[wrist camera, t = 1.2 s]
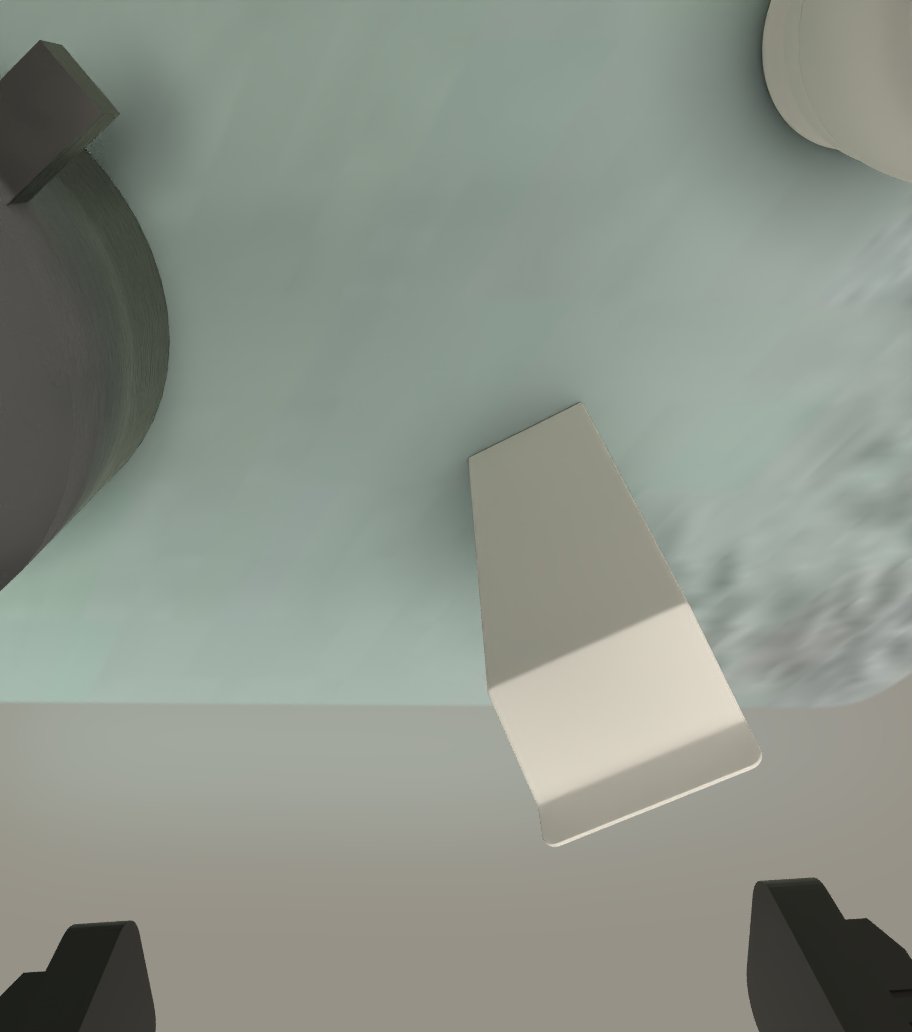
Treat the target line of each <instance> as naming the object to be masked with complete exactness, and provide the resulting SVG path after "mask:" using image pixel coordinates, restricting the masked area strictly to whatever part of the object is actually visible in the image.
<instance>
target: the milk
mask: <svg viewBox="0 0 912 1032" xmlns="http://www.w3.org/2000/svg"><path fill="white" fill-rule="evenodd" d="M468 462H469V474H470V486H471V498H472V510H473V522H474V534H475V546H476V558H477V570H478V582H479V594H480V606H481V618H482V630H483V642H484V653H485V665H486V677H487V689H488V694H489V697H490V699H491V701H492V704H493V706H494V708H495V710H496V713H497V715H498V717H499V719H500V722H501V724H502V726H503V728H504V731H505V733H506V735H507V738H508V740H509V742H510V744H511V747H512V749H513V751H514V753H515V756H516V758H517V760H518V762H519V764H520V767H521V769H522V771H523V774H524V776H525V778H526V781H527V783H528V785H529V787H530V789H531V792H532V794H533V796H534V799H535V801H536V803H537V806H538V810H539V817H540V824H541V830H542V836H543V840H544V841H545V843H546V844H547V845H549V846H551V847H558V846H560V845H563V844H566V843H568V842H571V841H573V840H576V839H578V838H581V837H583V836H586V835H588V834H590V833H593V832H596V831H598V830H601V829H603V828H606V827H608V826H611V825H613V824H616V823H618V822H621V821H623V820H626V819H628V818H631V817H633V816H636V815H638V814H641V813H643V812H646V811H648V810H651V809H653V808H656V807H658V806H661V805H663V804H666V803H668V802H671V801H673V800H676V799H678V798H681V797H683V796H686V795H688V794H691V793H693V792H696V791H698V790H701V789H703V788H706V787H708V786H711V785H713V784H716V783H718V782H721V781H723V780H726V779H728V778H730V777H733V776H736V775H738V774H741V773H743V772H746V771H748V770H751V769H753V768H755V767H756V766H757V765H758V764H759V763H760V762H761V759H762V752H761V750H760V748H759V745H758V743H757V741H756V739H755V737H754V735H753V734H752V732H751V730H750V728H749V726H748V724H747V722H746V720H745V718H744V716H743V714H742V712H741V710H740V708H739V706H738V704H737V702H736V700H735V697H734V695H733V693H732V691H731V689H730V687H729V685H728V683H727V681H726V679H725V677H724V675H723V673H722V671H721V669H720V667H719V665H718V663H717V661H716V659H715V656H714V654H713V652H712V650H711V648H710V646H709V644H708V642H707V640H706V638H705V636H704V634H703V632H702V630H701V628H700V626H699V624H698V622H697V620H696V618H695V615H694V613H693V611H692V609H691V607H690V605H689V604H688V602H687V600H686V598H685V596H684V594H683V592H682V590H681V588H680V586H679V585H678V583H677V581H676V579H675V577H674V575H673V573H672V571H671V569H670V568H669V566H668V564H667V562H666V560H665V558H664V556H663V554H662V552H661V551H660V549H659V547H658V545H657V543H656V541H655V539H654V537H653V535H652V534H651V532H650V530H649V528H648V526H647V524H646V522H645V520H644V518H643V516H642V515H641V513H640V511H639V509H638V507H637V505H636V503H635V501H634V499H633V498H632V496H631V494H630V492H629V490H628V488H627V486H626V484H625V482H624V481H623V479H622V477H621V475H620V473H619V471H618V469H617V467H616V465H615V463H614V462H613V460H612V458H611V456H610V454H609V452H608V450H607V448H606V446H605V445H604V443H603V441H602V439H601V437H600V435H599V433H598V431H597V429H596V428H595V426H594V424H593V422H592V420H591V418H590V416H589V414H588V412H587V411H586V409H585V407H584V405H583V404H582V403H578V404H576V405H574V406H572V407H570V408H568V409H566V410H564V411H562V412H560V413H558V414H556V415H554V416H552V417H550V418H548V419H546V420H544V421H542V422H540V423H538V424H536V425H534V426H532V427H530V428H528V429H526V430H524V431H522V432H520V433H518V434H516V435H514V436H512V437H510V438H508V439H506V440H504V441H502V442H500V443H497V444H495V445H493V446H491V447H489V448H487V449H485V450H483V451H481V452H479V453H477V454H475V455H473V456H471V457H470V458H469V459H468Z"/></svg>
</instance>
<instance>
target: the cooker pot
mask: <svg viewBox="0 0 912 1032" xmlns="http://www.w3.org/2000/svg"><path fill="white" fill-rule="evenodd" d="M119 114H120V113H119V112H118V111H117V110H116V108H115V107H114V106H113V105H112V104H111V102H110V101H109V100H108V99H107V98H106V97H105V95H104V94H103V93H102V92H101V91H100V89H99V88H98V87H97V86H96V85H95V84H94V82H93V81H92V80H91V79H90V78H89V76H88V75H87V74H86V73H85V72H84V71H83V69H82V68H81V67H80V66H79V65H78V63H77V62H76V61H75V60H74V59H73V58H72V56H71V55H70V54H69V53H68V52H67V50H66V49H65V48H64V47H63V46H62V45H59V44H55V43H51V42H46V41H42V40H39V41H38V42H37V43H36V44H35V45H34V46H33V47H32V49H31V50H30V51H29V52H28V53H27V54H26V55H25V56H24V57H23V58H22V59H21V60H20V61H19V62H18V63H17V64H16V65H15V66H14V67H13V68H12V69H11V70H10V71H9V72H8V73H7V74H6V75H5V76H4V77H3V78H2V79H1V80H0V591H1V590H2V589H3V588H4V587H5V586H6V585H7V584H8V583H9V582H10V581H11V580H12V579H13V578H14V577H15V576H16V575H18V574H19V573H20V572H21V571H22V570H23V569H24V568H25V567H26V566H27V565H28V564H29V562H30V561H31V560H32V559H33V558H34V557H35V556H36V555H37V554H38V553H39V552H40V551H41V550H42V549H43V548H44V547H45V546H46V545H47V544H48V543H49V542H50V541H51V540H52V539H53V538H54V537H55V536H56V535H57V533H58V532H59V531H60V530H61V529H62V528H63V527H64V526H65V525H66V524H67V523H68V522H69V521H70V520H71V519H72V518H73V517H74V516H75V515H76V514H77V513H78V512H79V511H80V510H81V509H82V508H83V507H84V506H85V504H86V503H87V502H88V501H89V500H90V499H91V498H92V497H93V496H94V495H95V494H96V493H97V492H98V491H99V490H100V489H101V488H102V487H103V486H104V485H105V484H106V483H107V482H108V481H109V480H110V479H111V478H112V477H113V475H114V474H115V473H116V472H117V471H118V470H119V469H120V468H121V467H122V466H123V465H124V464H125V463H126V462H127V461H128V459H129V458H130V457H131V455H132V454H133V453H134V451H135V450H136V449H137V447H138V446H139V445H140V444H141V442H142V440H143V438H144V436H145V435H146V433H147V431H148V429H149V427H150V425H151V424H152V422H153V420H154V417H155V414H156V411H157V409H158V406H159V403H160V400H161V398H162V394H163V389H164V385H165V380H166V375H167V370H168V356H169V327H168V313H167V307H166V302H165V297H164V292H163V287H162V282H161V279H160V276H159V273H158V269H157V266H156V263H155V260H154V257H153V254H152V251H151V249H150V247H149V245H148V243H147V240H146V238H145V236H144V234H143V232H142V230H141V228H140V225H139V223H138V221H137V219H136V218H135V216H134V214H133V213H132V211H131V209H130V208H129V206H128V205H127V203H126V201H125V200H124V198H123V196H122V195H121V193H120V192H119V190H118V189H117V187H116V186H115V185H114V184H113V182H112V181H111V180H110V178H109V177H108V176H107V175H106V173H105V172H104V171H103V169H102V168H101V167H100V166H99V164H98V163H97V162H96V161H95V160H94V159H93V158H92V157H91V156H90V155H89V154H88V153H87V152H86V151H85V150H84V148H85V147H86V146H87V145H88V144H89V143H90V142H91V141H92V140H93V139H94V138H95V137H96V136H97V135H98V134H99V133H100V132H101V131H103V130H104V129H105V128H106V127H107V126H108V125H109V124H110V123H111V122H112V121H113V120H114V119H115V118H116V117H117V116H118V115H119Z"/></svg>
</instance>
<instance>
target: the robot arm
mask: <svg viewBox="0 0 912 1032" xmlns="http://www.w3.org/2000/svg"><path fill="white" fill-rule="evenodd" d="M752 900H753V901H752V913H751V924H750V936H749V950H748V961H747V986H748V994H749V999H750V1004H751V1008H752V1012H753V1015H754V1018H755V1021H756V1025H757V1027H758V1030H759V1032H912V959H911V958H910V957H909V955H908V953H907V952H906V950H905V949H904V948H902V947H901V946H900V945H899V944H898V943H896V942H895V941H894V940H893V939H892V938H890V937H889V936H888V935H887V934H885V933H884V932H883V931H882V930H881V929H879V928H878V927H877V926H876V925H875V924H873V923H872V922H871V921H870V920H868V919H867V918H863V919H848V920H845V919H844V917H843V915H842V914H841V912H840V910H839V909H838V907H837V906H836V904H835V902H834V901H833V899H832V898H831V896H830V894H829V893H828V891H827V890H826V888H825V886H824V885H823V884H822V883H821V882H820V880H818V879H817V878H798V879H783V880H768V881H758V882H757V883H756V885H755V886H754V890H753V899H752ZM155 1030H156V1018H155V1009H154V1003H153V999H152V994H151V989H150V983H149V979H148V974H147V969H146V964H145V959H144V954H143V949H142V944H141V939H140V934H139V930H138V927H137V925H136V923H135V922H134V921H117V922H104V923H103V922H102V923H87V924H74V925H72V926H70V927H69V928H68V929H67V931H66V932H65V934H64V936H63V937H62V939H61V941H60V943H59V945H58V947H57V949H56V951H55V953H54V955H53V957H52V959H51V961H50V963H49V965H48V967H47V969H46V971H44V972H29V973H23V974H22V975H21V976H20V977H19V978H18V979H17V980H16V981H15V982H14V983H13V984H12V985H11V986H10V987H9V988H8V989H7V990H6V991H5V992H4V993H3V994H2V995H1V996H0V1032H155Z"/></svg>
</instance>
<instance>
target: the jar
mask: <svg viewBox="0 0 912 1032" xmlns="http://www.w3.org/2000/svg"><path fill="white" fill-rule="evenodd" d="M762 59H763V69H764V75H765V80H766V84H767V87H768V90H769V93H770V96H771V98H772V100H773V102H774V104H775V106H776V108H777V110H778V111H779V113H780V114H781V116H782V117H783V119H784V120H785V121H786V122H787V123H788V124H789V125H790V126H791V127H792V128H793V129H794V130H795V131H796V132H797V133H799V134H800V135H801V136H803V137H804V138H806V139H808V140H809V141H811V142H813V143H816V144H818V145H821V146H824V147H827V148H832V149H837V150H839V151H841V152H842V153H844V154H846V155H848V156H850V157H852V158H854V159H856V160H858V161H861V162H863V163H864V164H866V165H868V166H869V167H871V168H873V169H875V170H877V171H879V172H882V173H884V174H886V175H889V176H891V177H894V178H897V179H900V180H903V181H907V182H910V183H912V0H771V3H770V6H769V9H768V12H767V16H766V21H765V26H764V32H763V43H762Z"/></svg>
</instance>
